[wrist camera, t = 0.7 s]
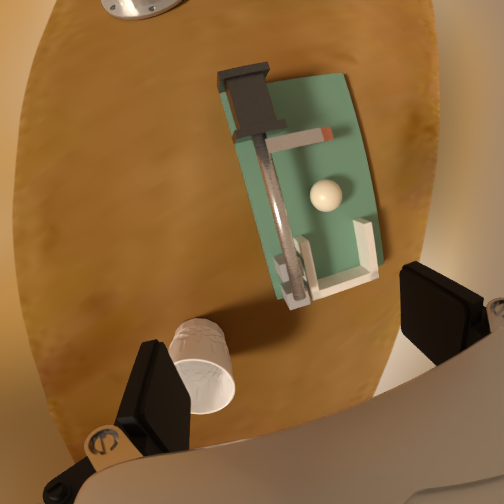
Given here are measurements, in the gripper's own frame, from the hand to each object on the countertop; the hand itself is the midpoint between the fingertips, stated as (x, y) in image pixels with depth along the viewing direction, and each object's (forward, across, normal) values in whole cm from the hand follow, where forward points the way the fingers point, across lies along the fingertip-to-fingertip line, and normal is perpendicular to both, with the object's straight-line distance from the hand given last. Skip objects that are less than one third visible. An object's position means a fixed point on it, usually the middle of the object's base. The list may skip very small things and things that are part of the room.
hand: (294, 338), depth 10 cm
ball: (+22, -10, -1) cm, 24 cm away
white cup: (+25, +9, +13) cm, 30 cm away
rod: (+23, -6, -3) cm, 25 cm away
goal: (+25, -10, +7) cm, 27 cm away
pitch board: (+25, -9, -2) cm, 27 cm away
